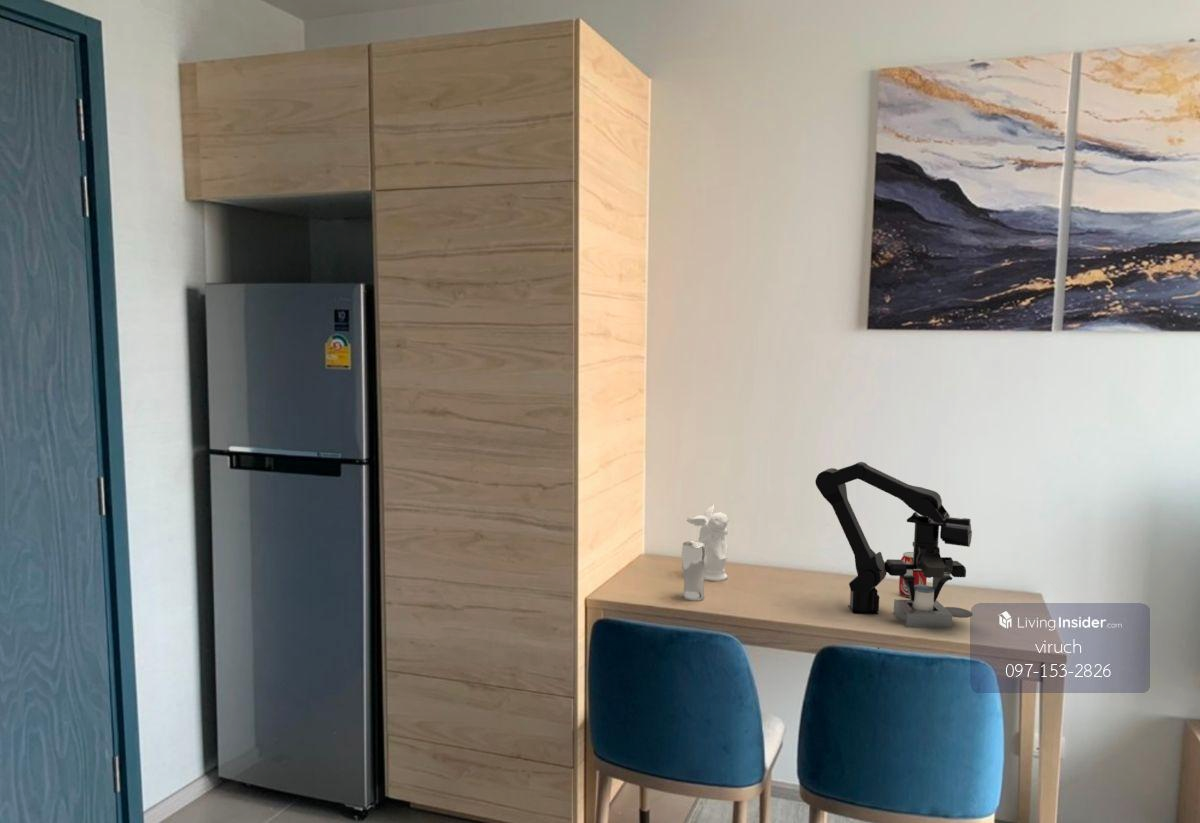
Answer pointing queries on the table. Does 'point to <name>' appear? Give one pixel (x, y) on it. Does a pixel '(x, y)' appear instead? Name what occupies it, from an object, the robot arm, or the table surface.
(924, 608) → the white cylinder
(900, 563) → the robot arm
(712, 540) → the cherub figurine
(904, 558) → the soda can
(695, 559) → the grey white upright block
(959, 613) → the mat
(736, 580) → the table surface
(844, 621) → the table surface
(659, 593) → the table surface
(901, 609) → the housing
